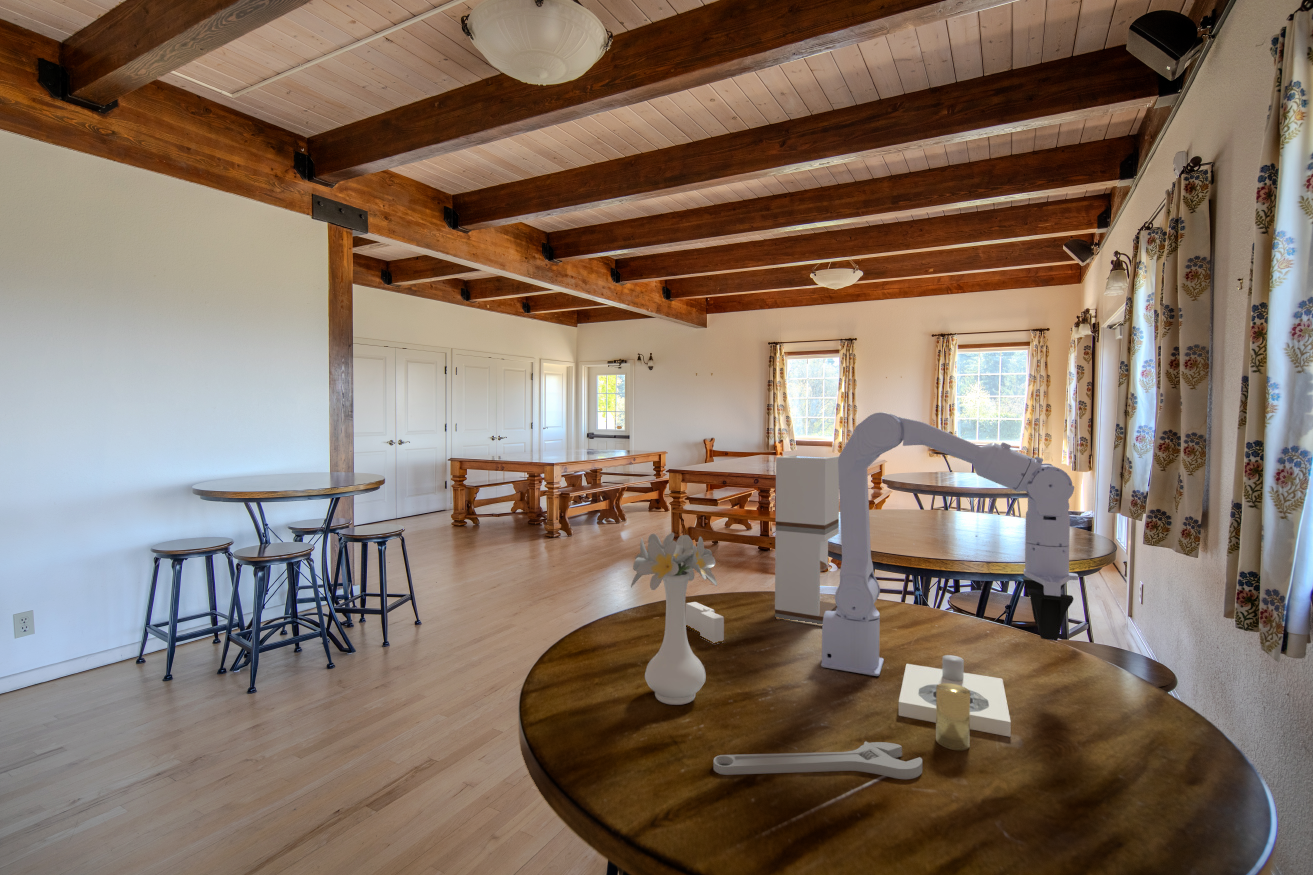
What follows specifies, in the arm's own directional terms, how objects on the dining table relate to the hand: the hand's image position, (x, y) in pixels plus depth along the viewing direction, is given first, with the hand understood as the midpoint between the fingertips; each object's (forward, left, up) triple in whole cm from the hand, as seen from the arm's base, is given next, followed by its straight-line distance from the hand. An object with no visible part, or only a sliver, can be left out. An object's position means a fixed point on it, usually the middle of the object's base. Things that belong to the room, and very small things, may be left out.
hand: (1045, 631), depth 95 cm
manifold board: (-13, -9, -10) cm, 19 cm away
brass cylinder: (-13, -22, -10) cm, 27 cm away
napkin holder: (-58, +3, -11) cm, 59 cm away
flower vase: (-52, -25, -10) cm, 58 cm away
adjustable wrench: (-28, -35, -11) cm, 46 cm away
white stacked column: (-42, +25, -10) cm, 50 cm away
